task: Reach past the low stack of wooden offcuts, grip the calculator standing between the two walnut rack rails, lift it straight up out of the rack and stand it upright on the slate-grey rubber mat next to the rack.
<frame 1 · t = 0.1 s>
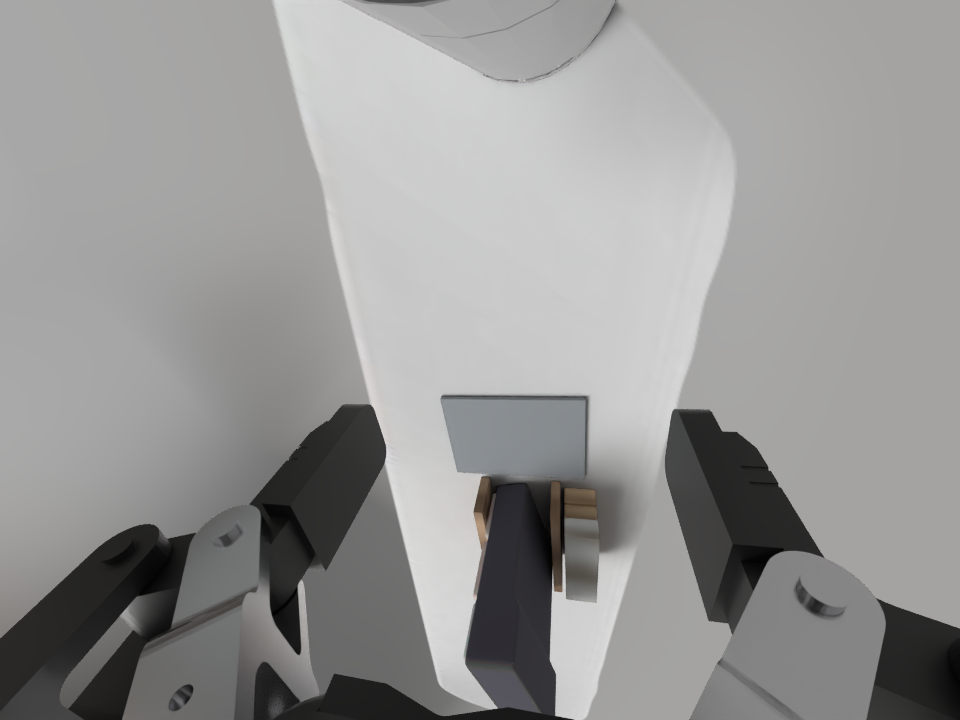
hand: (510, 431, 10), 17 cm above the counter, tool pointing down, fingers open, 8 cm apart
rack: (524, 518, 40), on the counter
offcut stack: (579, 520, 39), on the counter
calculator: (526, 516, 40), on the counter
slate mat: (515, 437, 34), on the counter
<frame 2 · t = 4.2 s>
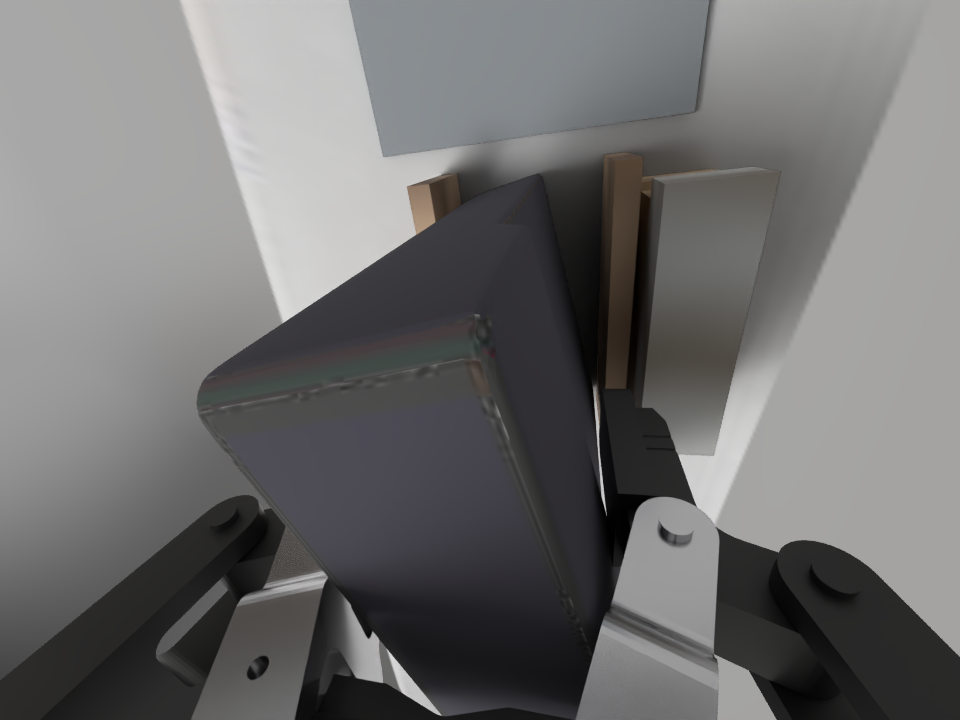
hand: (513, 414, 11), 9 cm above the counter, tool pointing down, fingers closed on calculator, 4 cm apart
rack: (535, 300, 18), on the counter
offcut stack: (658, 293, 17), on the counter
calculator: (539, 300, 19), on the counter, touching gripper
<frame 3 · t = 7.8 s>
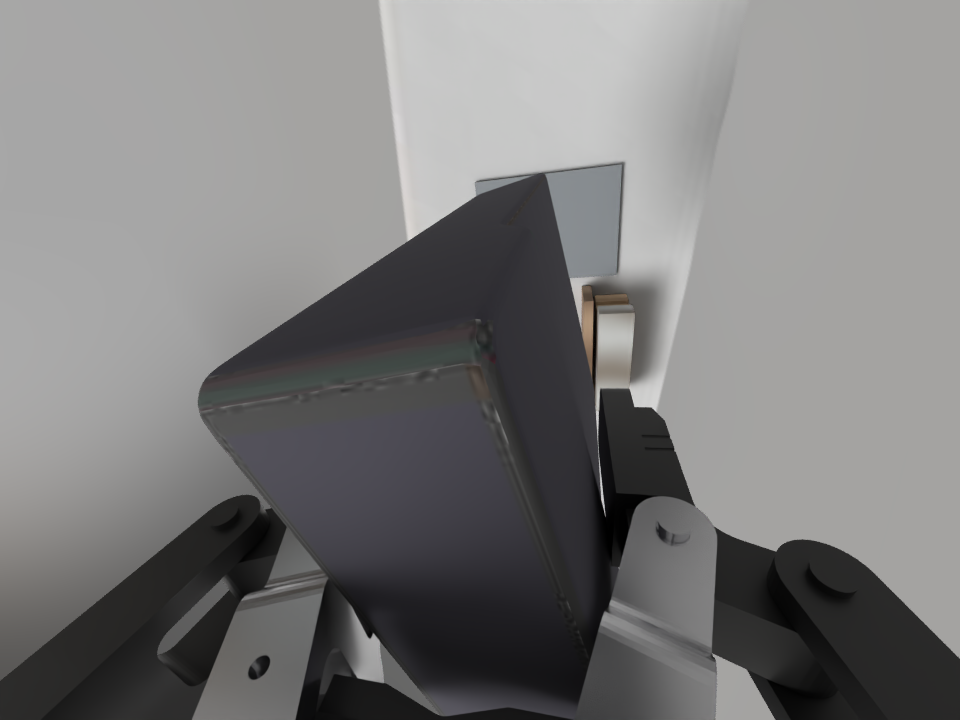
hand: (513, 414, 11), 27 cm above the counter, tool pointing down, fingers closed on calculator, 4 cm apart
rack: (551, 342, 39), on the counter
offcut stack: (608, 341, 38), on the counter
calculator: (541, 299, 19), point 18 cm above the counter, touching gripper
slate mat: (547, 229, 34), on the counter
when the fingers open (11 cm above the counter, at t = 11.3 s): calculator drops 1 cm, on the counter.
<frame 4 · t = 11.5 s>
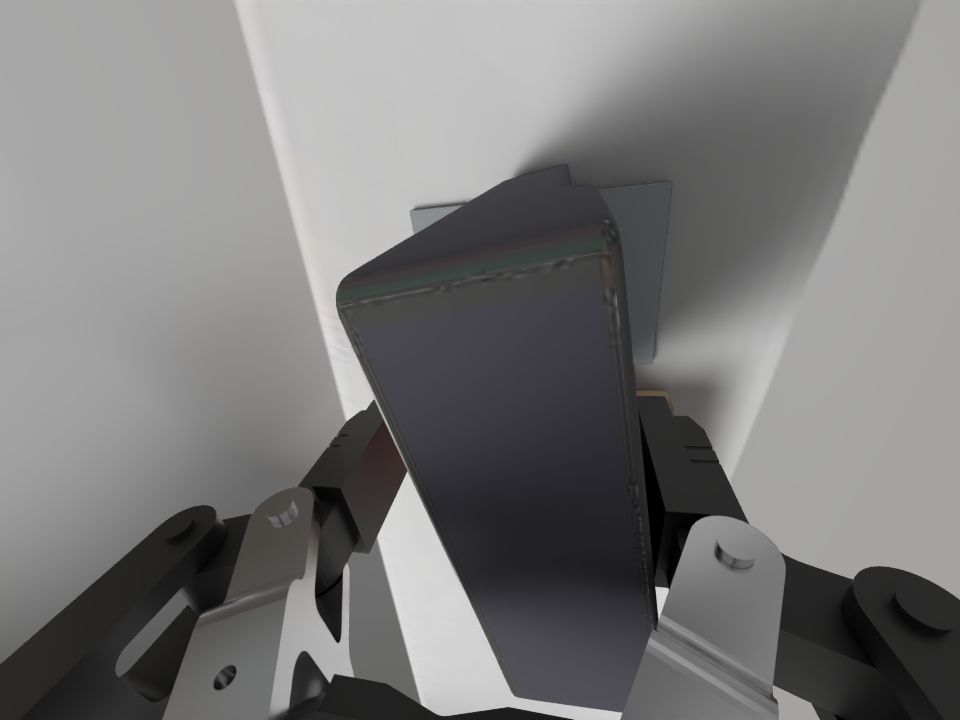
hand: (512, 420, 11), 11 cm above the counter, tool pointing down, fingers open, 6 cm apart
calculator: (554, 286, 20), resting on slate mat, touching gripper
slate mat: (536, 288, 20), on the counter
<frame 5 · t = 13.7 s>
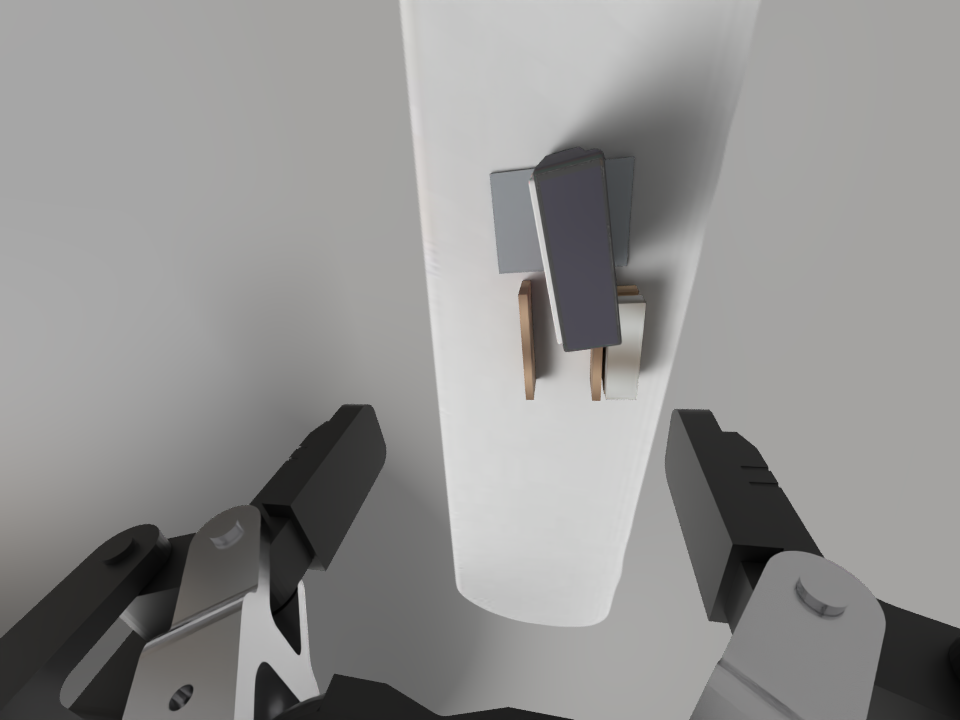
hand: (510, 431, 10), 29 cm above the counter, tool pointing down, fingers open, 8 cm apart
rack: (561, 332, 40), on the counter
offcut stack: (617, 332, 39), on the counter
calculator: (570, 218, 34), resting on slate mat
slate mat: (560, 220, 35), on the counter
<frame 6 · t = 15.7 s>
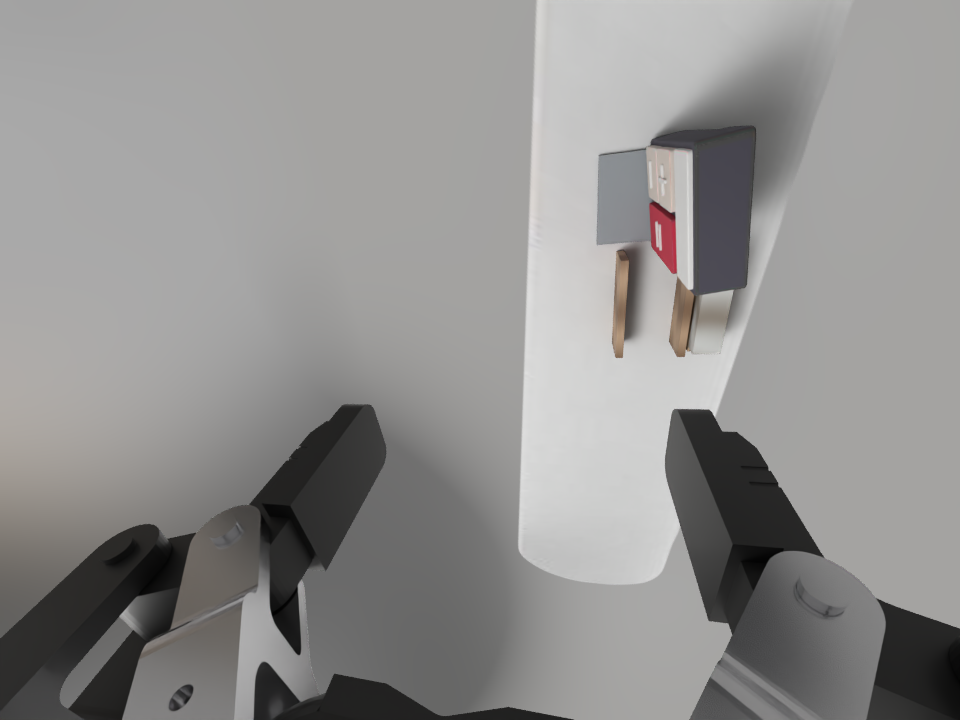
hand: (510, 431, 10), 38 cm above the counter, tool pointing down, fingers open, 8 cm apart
rack: (647, 298, 46), on the counter
offcut stack: (698, 296, 45), on the counter
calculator: (667, 193, 40), resting on slate mat
slate mat: (657, 195, 40), on the counter
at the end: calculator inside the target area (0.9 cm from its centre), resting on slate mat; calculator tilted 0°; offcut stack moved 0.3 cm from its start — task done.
